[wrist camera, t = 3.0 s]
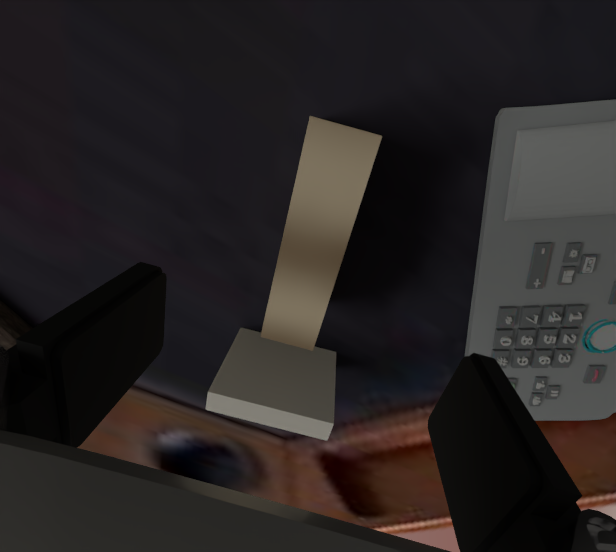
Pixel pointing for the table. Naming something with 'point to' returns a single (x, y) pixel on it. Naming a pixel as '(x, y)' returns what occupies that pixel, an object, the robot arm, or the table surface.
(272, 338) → the tan wooden block
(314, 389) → the tile
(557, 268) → the office telephone
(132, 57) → the table surface
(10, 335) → the cleaver
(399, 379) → the table surface
